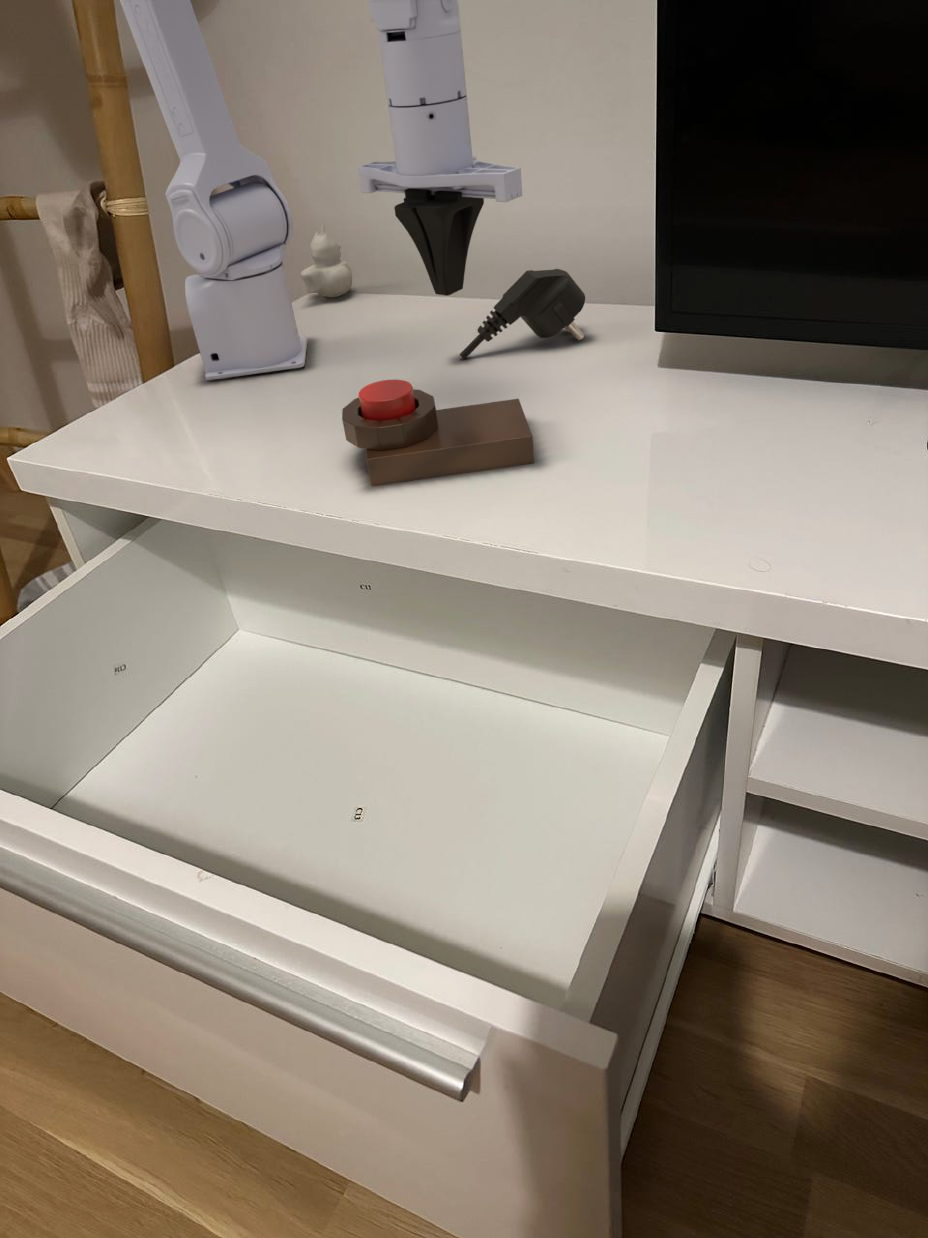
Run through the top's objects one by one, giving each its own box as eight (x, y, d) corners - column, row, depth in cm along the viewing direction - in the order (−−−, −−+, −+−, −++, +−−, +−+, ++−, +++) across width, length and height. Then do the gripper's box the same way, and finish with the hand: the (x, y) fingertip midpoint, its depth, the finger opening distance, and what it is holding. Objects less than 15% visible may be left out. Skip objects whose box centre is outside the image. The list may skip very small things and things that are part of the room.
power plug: (447, 341, 87) (540, 246, 85) (497, 393, 91) (587, 304, 89) (464, 360, 82) (563, 260, 80) (516, 414, 87) (611, 320, 84)
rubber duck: (367, 291, 106) (355, 217, 101) (324, 309, 102) (310, 233, 98) (335, 286, 109) (322, 214, 104) (293, 303, 105) (277, 229, 101)
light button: (362, 426, 67) (358, 404, 66) (362, 405, 70) (358, 383, 69) (417, 419, 67) (413, 396, 66) (414, 398, 70) (411, 375, 69)
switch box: (351, 489, 67) (341, 439, 65) (351, 442, 73) (342, 395, 71) (534, 463, 67) (531, 412, 65) (518, 419, 74) (515, 371, 71)
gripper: (542, 88, 65) (551, 285, 73) (391, 91, 73) (415, 268, 81) (480, 107, 60) (497, 313, 68) (327, 108, 69) (359, 292, 77)
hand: (449, 291), depth 74 cm, fingers closed
